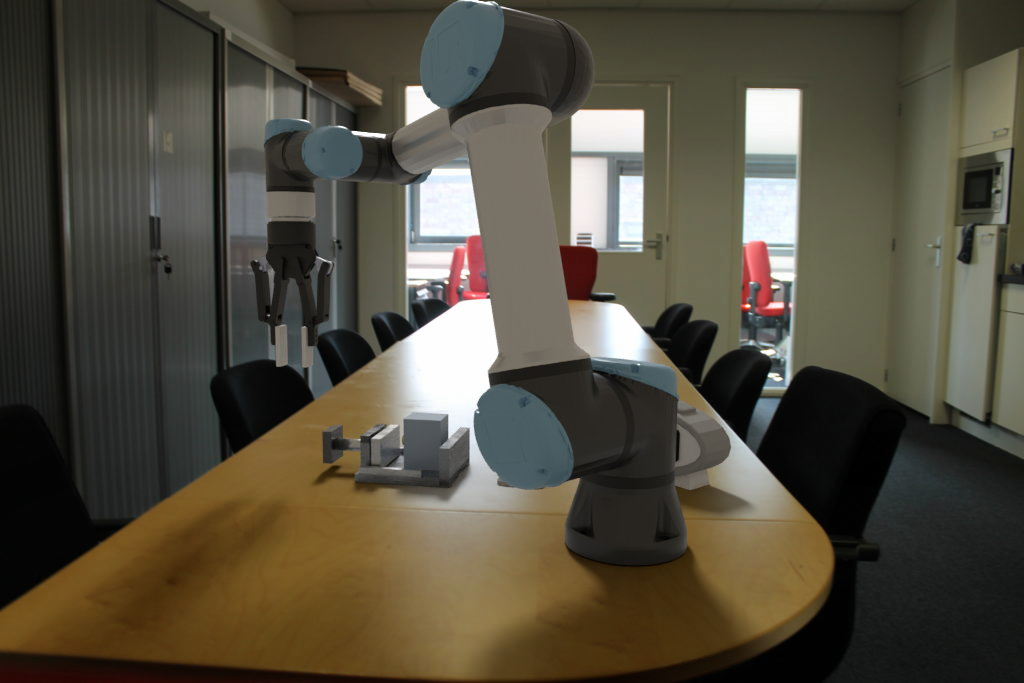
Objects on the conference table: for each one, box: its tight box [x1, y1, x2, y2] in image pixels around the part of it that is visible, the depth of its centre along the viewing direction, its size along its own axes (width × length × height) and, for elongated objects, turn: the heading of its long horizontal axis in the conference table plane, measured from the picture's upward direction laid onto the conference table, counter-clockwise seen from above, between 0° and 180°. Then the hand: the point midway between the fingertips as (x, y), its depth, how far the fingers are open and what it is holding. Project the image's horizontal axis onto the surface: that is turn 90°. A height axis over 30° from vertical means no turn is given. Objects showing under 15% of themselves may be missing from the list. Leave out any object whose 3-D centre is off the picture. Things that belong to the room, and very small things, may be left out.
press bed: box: [354, 423, 471, 488], centre depth 134 cm, size 14×15×7 cm
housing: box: [401, 411, 449, 471], centre depth 133 cm, size 5×7×8 cm
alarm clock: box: [675, 399, 732, 491], centre depth 133 cm, size 23×6×13 cm, turn 40°
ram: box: [321, 423, 401, 467], centre depth 135 cm, size 10×10×5 cm
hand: (294, 365), depth 135 cm, fingers open, 4 cm apart
